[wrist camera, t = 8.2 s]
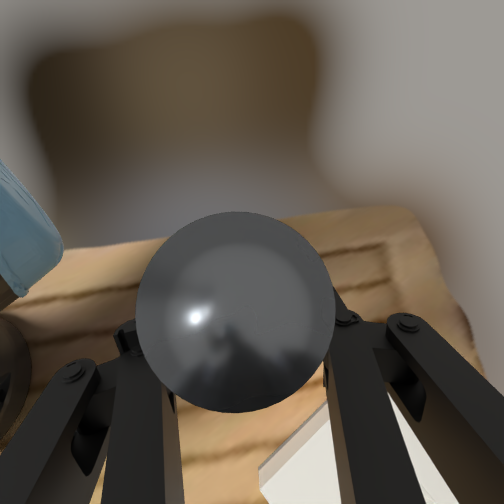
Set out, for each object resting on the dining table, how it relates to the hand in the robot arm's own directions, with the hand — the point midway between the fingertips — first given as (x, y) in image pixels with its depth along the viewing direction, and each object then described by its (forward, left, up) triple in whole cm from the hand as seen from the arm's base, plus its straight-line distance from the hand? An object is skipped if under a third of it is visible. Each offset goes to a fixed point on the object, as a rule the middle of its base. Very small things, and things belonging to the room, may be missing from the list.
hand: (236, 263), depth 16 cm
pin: (+3, -2, -5) cm, 6 cm away
